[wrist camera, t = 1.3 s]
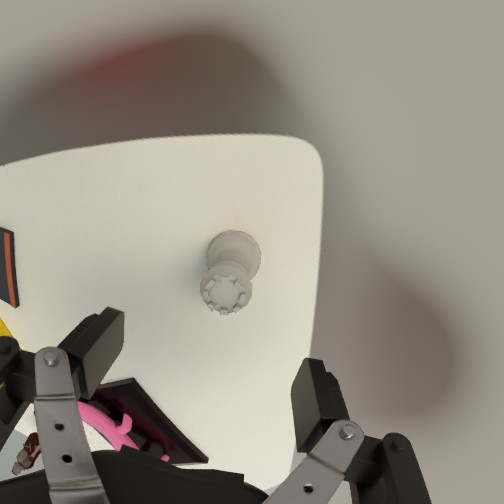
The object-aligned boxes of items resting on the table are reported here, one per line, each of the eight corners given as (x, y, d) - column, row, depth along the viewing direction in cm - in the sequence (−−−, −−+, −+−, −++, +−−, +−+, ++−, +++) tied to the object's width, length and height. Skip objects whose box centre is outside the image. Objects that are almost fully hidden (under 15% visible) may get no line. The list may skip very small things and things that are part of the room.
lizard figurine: (142, 466, 36) (132, 497, 29) (64, 389, 31) (42, 422, 24) (213, 463, 34) (208, 501, 27) (132, 376, 29) (109, 420, 22)
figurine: (43, 407, 33) (6, 463, 19) (70, 435, 35) (39, 492, 21) (29, 409, 34) (-6, 459, 20) (54, 435, 36) (25, 486, 22)
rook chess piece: (253, 285, 25) (251, 335, 17) (203, 272, 25) (181, 318, 17) (267, 237, 24) (271, 271, 16) (215, 223, 24) (194, 251, 16)
